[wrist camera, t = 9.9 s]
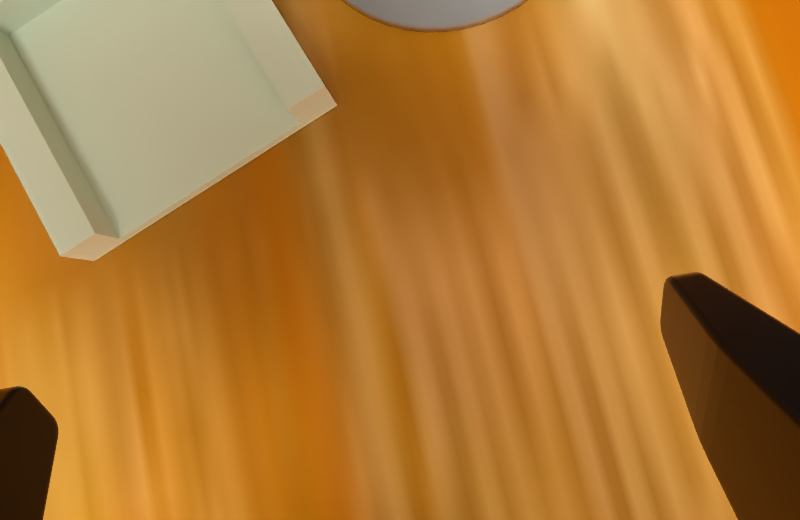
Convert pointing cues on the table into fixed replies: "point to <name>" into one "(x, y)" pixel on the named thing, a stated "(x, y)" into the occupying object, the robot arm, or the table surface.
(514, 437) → the table surface
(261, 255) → the table surface
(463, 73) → the table surface
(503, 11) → the slate coaster
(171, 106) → the pocket
